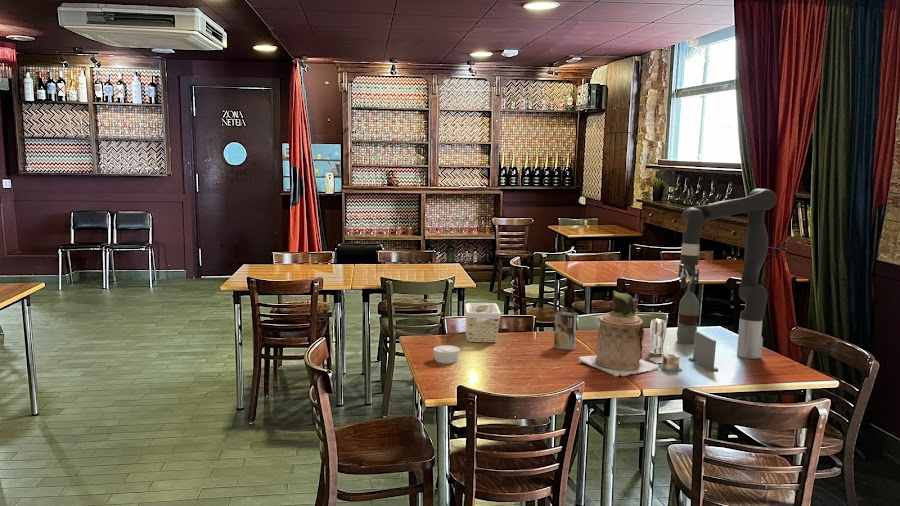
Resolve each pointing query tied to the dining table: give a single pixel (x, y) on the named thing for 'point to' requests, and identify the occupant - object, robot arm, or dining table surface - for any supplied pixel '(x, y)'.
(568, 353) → the dining table surface
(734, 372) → the dining table surface
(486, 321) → the storage basket
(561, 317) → the coffee box
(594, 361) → the cookie jar
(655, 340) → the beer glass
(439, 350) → the ramekin
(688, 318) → the bottle
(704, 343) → the screen
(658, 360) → the pad
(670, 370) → the pad
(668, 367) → the beige cube
